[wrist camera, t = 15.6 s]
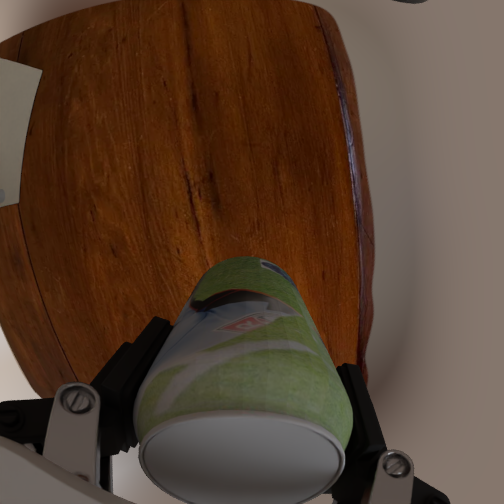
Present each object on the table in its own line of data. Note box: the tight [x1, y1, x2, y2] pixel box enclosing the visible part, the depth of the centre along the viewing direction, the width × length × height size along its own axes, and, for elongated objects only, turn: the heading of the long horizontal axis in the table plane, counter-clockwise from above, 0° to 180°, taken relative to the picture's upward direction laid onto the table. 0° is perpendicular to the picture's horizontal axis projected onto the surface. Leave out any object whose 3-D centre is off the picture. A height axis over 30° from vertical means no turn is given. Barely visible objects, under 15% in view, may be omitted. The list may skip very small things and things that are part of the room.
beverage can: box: [133, 256, 353, 504], centre depth 10 cm, size 6×7×12 cm
